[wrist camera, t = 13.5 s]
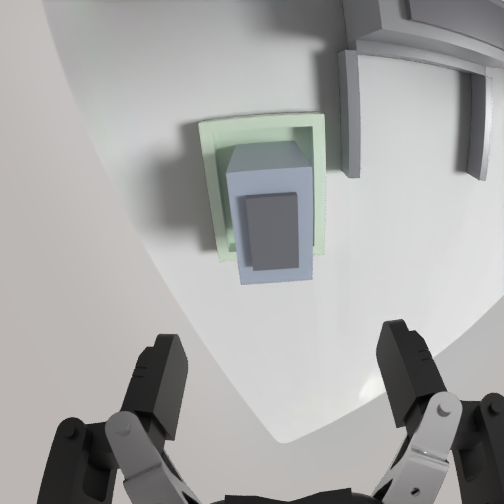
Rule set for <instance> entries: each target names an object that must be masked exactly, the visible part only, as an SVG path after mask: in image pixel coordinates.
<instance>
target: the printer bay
mask: <svg viewBox="0 0 504 504" xmlns="http://www.w3.org/2000/svg"><path fill="white" fill-rule="evenodd" d="M342 3H343V10H344V18H345V27H346V37H347V47H348V50H343V51H341V52H338V53H337V58H338V72H339V88H340V110H341V170H342V171H343V172H344V174H345V175H346V176H347V177H348V178H360V91H359V72H358V58H357V54H361V55H371V56H381V57H389V58H396V59H403V60H409V61H415V62H420V63H426V64H431V65H435V66H440V67H444V68H449V69H453V70H457V71H461V72H464V73H468V74H471V93H472V99H471V130H470V144H469V155H468V165H467V173H468V174H470V175H471V176H473V177H475V178H476V179H478V180H482V181H486V176H487V168H488V160H489V152H490V141H491V127H492V78H491V77H488V76H486V73H485V66H487V67H499V68H504V2H503V1H501V0H342Z"/></svg>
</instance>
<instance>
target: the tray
mask: <svg viewBox="0 0 504 504" xmlns="http://www.w3.org/2000/svg"><path fill="white" fill-rule="evenodd" d="M198 126H199V133H200V141H201V148H202V155H203V162H204V169H205V175H206V182H207V189H208V195H209V202H210V208H211V214H212V221H213V227H214V233H215V239H216V245H217V251H218V257H219V262H227V261H237V253H236V246H235V239H234V231H233V224H232V216H231V209H230V201H229V193H228V185H227V178H226V171H227V168H228V166H229V163H230V160H231V157H232V154H233V152H234V149H235V146H236V145H239V144H250V143H262V142H277V141H295V142H296V144H297V145H298V147H299V148H300V150H301V151H302V152H303V154H304V155H305V157H306V158H307V160H308V161H309V163H310V164H311V166H312V175H313V256H314V255H325V224H326V147H325V117H324V114H323V113H320V112H291V113H272V114H258V115H246V116H235V117H226V118H217V119H209V120H203V121H201V122H200V123H198Z"/></svg>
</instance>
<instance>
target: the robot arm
mask: <svg viewBox="0 0 504 504" xmlns="http://www.w3.org/2000/svg"><path fill="white" fill-rule="evenodd" d="M376 357H377V362H378V365H379V368H380V371H381V375H382V378H383V381H384V385H385V388H386V391H387V395H388V398H389V402H390V405H391V409H392V413H393V416H394V419H395V423H396V428H399V427H403V426H406V430H407V433H406V435H405V437H404V439H403V441H402V443H401V445H400V448H399V450H398V451H397V453H396V455H395V457H394V459H393V461H392V463H391V465H390V467H389V469H388V470H387V472H386V474H385V475H384V477H383V478H382V479H381V481H380V482H379V484H378V485H377V487H376V488H375V490H374V492H373V493H372V495H371V496H368V495H364V494H360V493H352V492H351V488H346V489H339V490H332V491H325V492H319V493H316V494H314V495H311V496H307V497H304V498H301V499H298V500H294V501H290V502H286V501H280V500H274V499H269V498H264V497H259V496H236V495H235V496H234V495H225V500H221V501H217V502H214V503H211V504H433V503H434V501H435V499H436V496H437V494H438V492H439V490H440V488H441V485H442V483H443V481H444V478H445V476H446V473H447V471H448V468H449V462H448V461H447V457H448V454H449V451H450V450H452V453H453V457H454V461H455V466H456V471H457V476H458V481H459V487H460V493H461V499H462V504H504V397H503V396H502V395H500V394H498V393H490V394H487V395H486V396H485V397H484V398H483V399H482V400H481V401H461V400H459V398H458V397H457V396H456V395H454V394H452V393H450V392H448V391H447V389H446V388H445V385H444V383H443V380H442V378H441V376H440V373H439V371H438V369H437V367H436V364H435V362H434V360H433V359H432V355H431V353H430V351H428V347H427V345H426V342H425V340H424V338H422V337H421V336H420V335H419V334H418V333H417V332H416V331H415V330H413V331H409V330H408V328H407V326H406V323H405V322H404V320H403V319H399V320H392V321H385V322H384V323H383V326H382V330H381V333H380V337H379V341H378V344H377V348H376ZM187 374H188V360H187V357H186V354H185V352H184V349H183V346H182V344H181V341H180V338H179V336H178V335H177V334H159V335H158V336H157V338H156V341H155V344H154V347H146V348H145V350H144V351H143V352H142V353H141V354H140V356H139V357H138V360H137V363H136V366H135V369H134V372H133V374H132V378H131V380H130V383H129V386H128V389H127V392H126V395H125V398H124V401H123V404H122V407H121V410H120V411H119V412H117V413H115V414H113V415H112V416H111V417H110V418H109V419H108V420H107V421H106V422H101V423H93V424H84V423H83V422H82V421H81V420H80V419H78V418H74V417H71V418H67V419H65V420H63V421H62V422H61V423H60V425H59V426H58V428H57V431H56V434H55V437H54V440H53V443H52V446H51V450H50V453H49V457H48V460H47V464H46V468H45V471H44V475H43V479H42V483H41V487H40V491H39V495H38V500H37V504H112V497H113V491H114V485H115V479H116V474H117V469H119V468H121V471H122V473H123V475H124V478H125V480H124V481H123V485H124V488H125V490H126V492H127V494H128V496H129V498H130V500H131V502H132V504H202V503H201V502H200V500H199V499H198V498H197V496H196V495H195V494H194V493H193V491H191V489H190V488H189V487H188V486H187V484H186V483H185V482H184V480H183V479H182V477H181V475H180V474H179V472H178V471H177V469H176V468H175V466H174V464H173V463H172V461H171V460H170V458H169V456H168V455H167V453H166V451H165V450H164V444H165V440H172V441H174V440H175V434H176V429H177V424H178V418H179V413H180V408H181V403H182V398H183V393H184V388H185V383H186V378H187Z"/></svg>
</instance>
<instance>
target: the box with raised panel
mask: <svg viewBox="0 0 504 504" xmlns="http://www.w3.org/2000/svg"><path fill="white" fill-rule="evenodd" d="M226 178H227V185H228V193H229V201H230V209H231V216H232V224H233V231H234V239H235V246H236V253H237V261H238V268H239V275H240V282H241V285H245V284H261V283H276V282H289V281H303V280H312V271H313V175H312V166H311V164H310V163H309V161H308V160H307V158H306V157H305V155H304V154H303V152H302V151H301V150H300V148H299V147H298V145H297V144H296V142H295V141H277V142H262V143H250V144H239V145H236V146H235V149H234V152H233V154H232V157H231V160H230V163H229V166H228V168H227V171H226Z"/></svg>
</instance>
